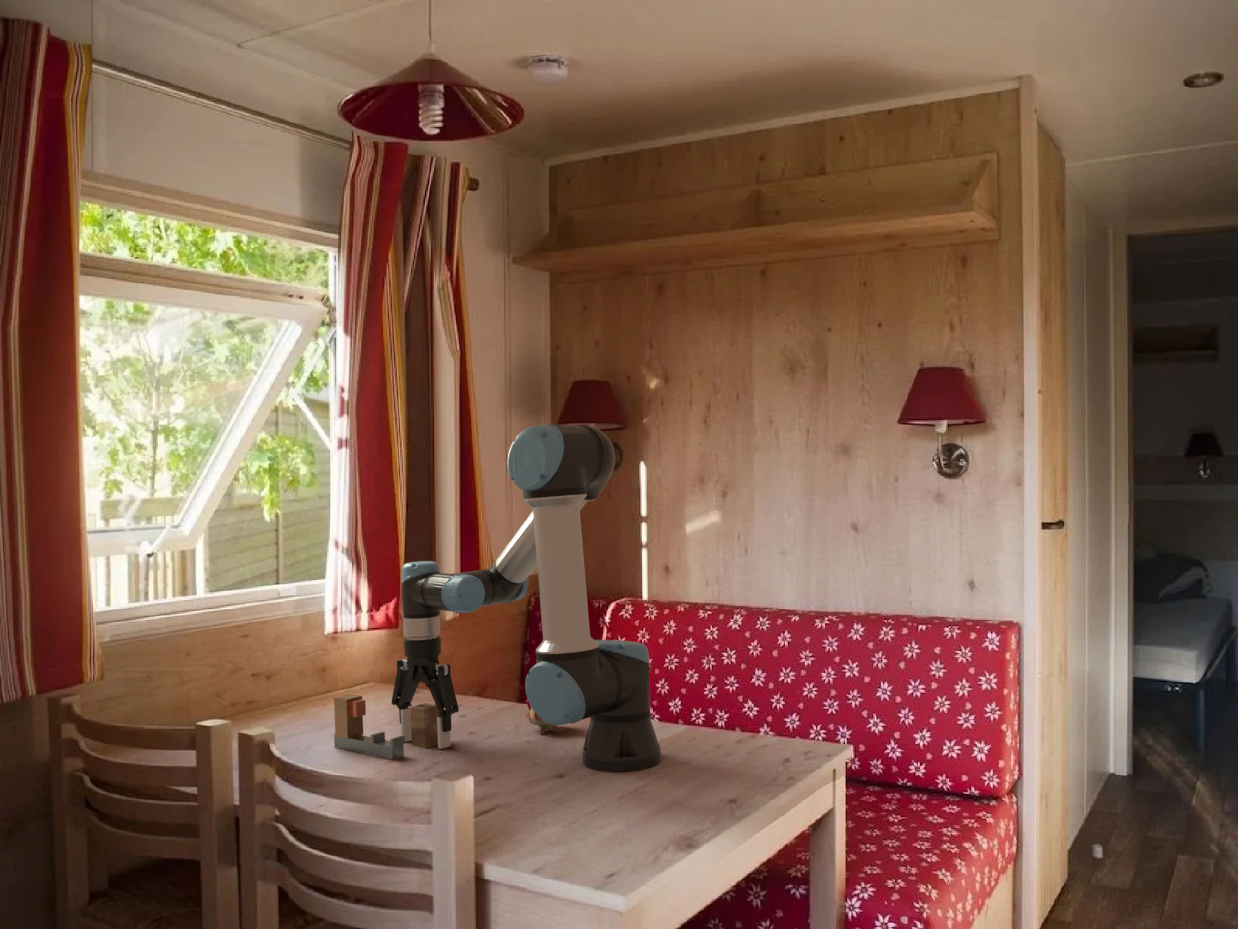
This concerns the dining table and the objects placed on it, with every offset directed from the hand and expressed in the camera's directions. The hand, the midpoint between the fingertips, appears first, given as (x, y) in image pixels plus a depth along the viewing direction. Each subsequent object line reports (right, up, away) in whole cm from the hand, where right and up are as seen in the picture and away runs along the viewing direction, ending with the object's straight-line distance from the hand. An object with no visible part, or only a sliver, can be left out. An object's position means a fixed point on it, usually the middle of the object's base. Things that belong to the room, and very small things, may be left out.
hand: (425, 743), depth 229 cm
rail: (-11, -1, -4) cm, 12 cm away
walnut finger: (0, 0, 0) cm, 0 cm away
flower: (+24, 0, +8) cm, 26 cm away
